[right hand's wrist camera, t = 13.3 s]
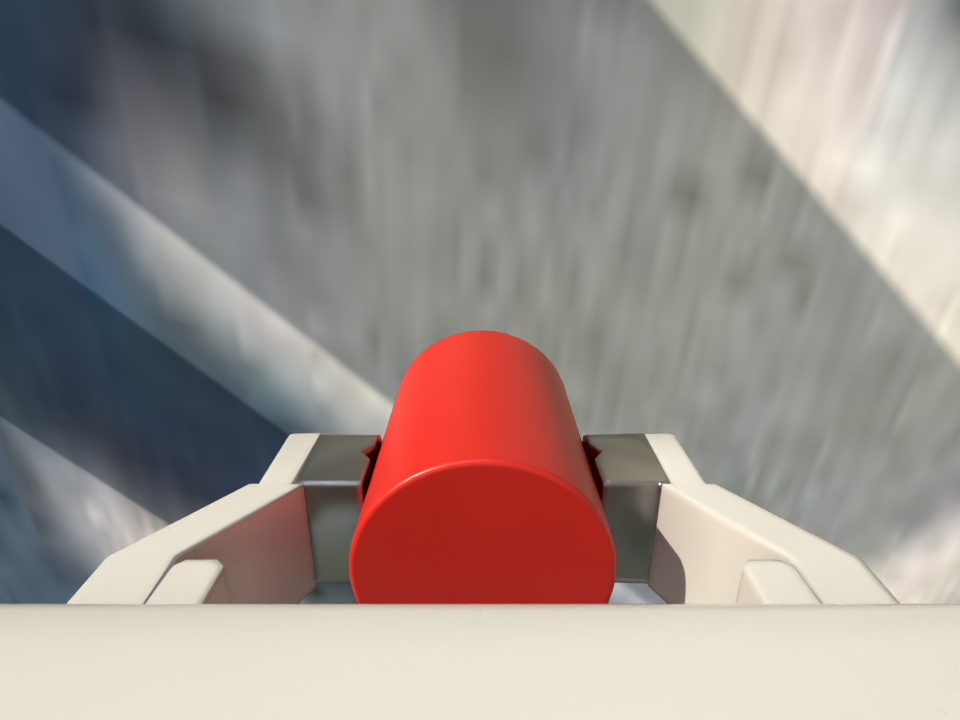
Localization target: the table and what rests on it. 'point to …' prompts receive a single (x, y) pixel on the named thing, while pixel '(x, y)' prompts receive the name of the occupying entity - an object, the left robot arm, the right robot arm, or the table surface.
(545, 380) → the canister
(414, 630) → the right robot arm
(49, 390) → the table surface
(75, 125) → the table surface
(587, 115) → the table surface
